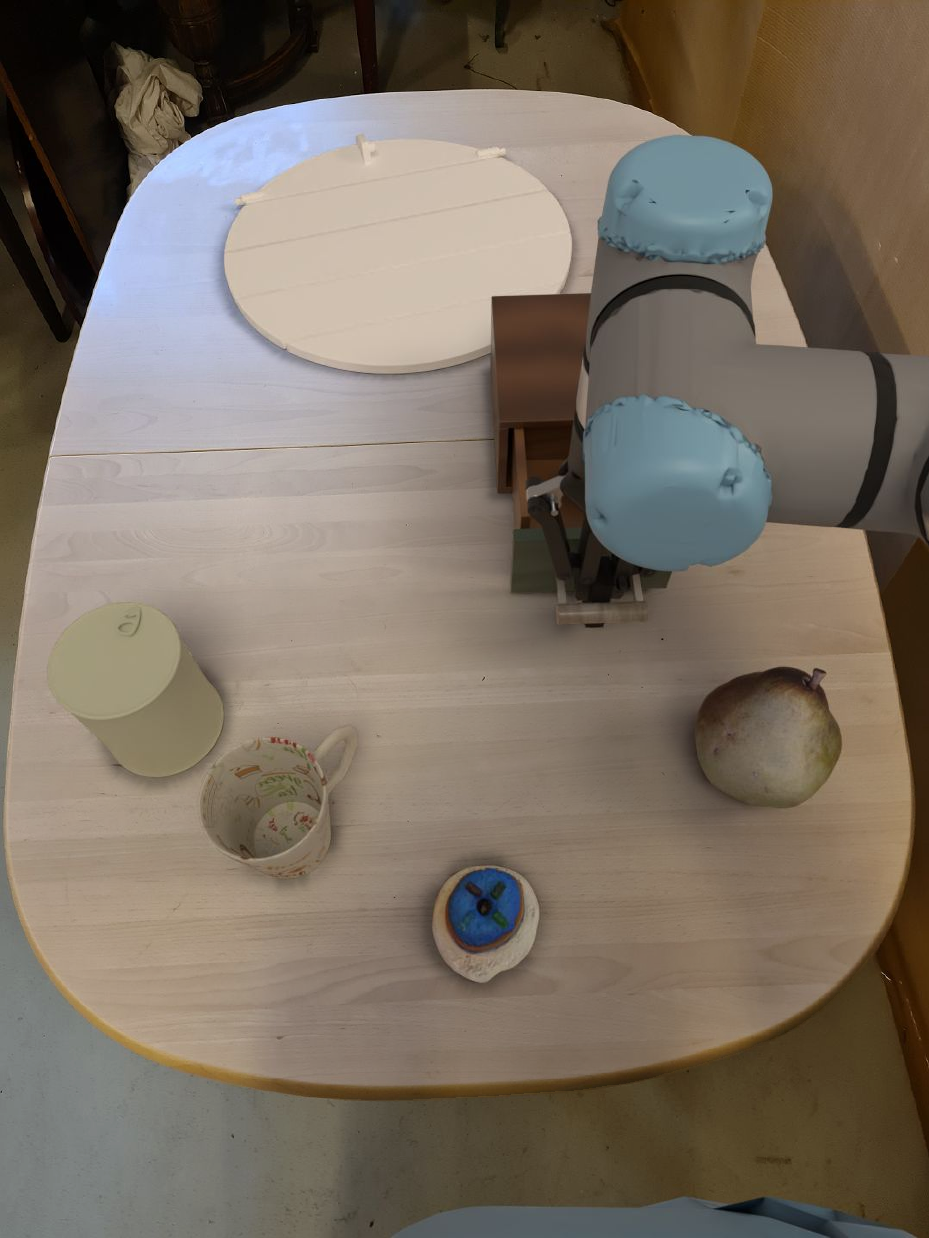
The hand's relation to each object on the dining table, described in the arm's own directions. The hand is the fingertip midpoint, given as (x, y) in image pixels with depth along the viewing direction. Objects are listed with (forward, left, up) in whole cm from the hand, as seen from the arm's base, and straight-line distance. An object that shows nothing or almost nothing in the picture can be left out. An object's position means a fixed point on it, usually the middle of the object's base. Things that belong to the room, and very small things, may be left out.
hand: (592, 613), depth 71 cm
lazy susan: (+50, +17, -2) cm, 53 cm away
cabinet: (+22, 0, -2) cm, 22 cm away
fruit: (-13, -11, -2) cm, 17 cm away
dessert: (-24, +10, -2) cm, 26 cm away
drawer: (+7, 0, -1) cm, 7 cm away
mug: (-16, +23, -2) cm, 28 cm away
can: (-8, +35, -2) cm, 36 cm away
